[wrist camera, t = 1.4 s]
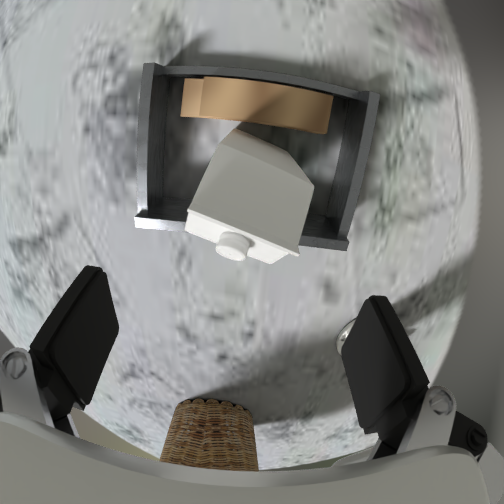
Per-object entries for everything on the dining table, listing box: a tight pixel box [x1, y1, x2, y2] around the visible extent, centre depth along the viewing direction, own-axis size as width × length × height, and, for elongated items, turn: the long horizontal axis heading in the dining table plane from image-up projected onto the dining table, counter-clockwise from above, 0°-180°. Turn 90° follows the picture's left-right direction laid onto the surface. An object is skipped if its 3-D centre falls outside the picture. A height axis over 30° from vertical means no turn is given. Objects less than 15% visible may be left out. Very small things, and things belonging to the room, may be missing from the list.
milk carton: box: [185, 129, 314, 264], centre depth 24 cm, size 7×7×19 cm
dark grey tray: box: [135, 63, 380, 251], centre depth 28 cm, size 24×18×7 cm
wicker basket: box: [160, 398, 259, 472], centre depth 50 cm, size 35×35×33 cm
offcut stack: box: [180, 77, 333, 134], centre depth 26 cm, size 16×5×5 cm, turn 82°
